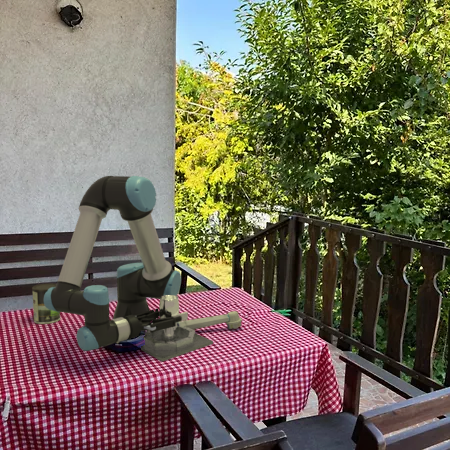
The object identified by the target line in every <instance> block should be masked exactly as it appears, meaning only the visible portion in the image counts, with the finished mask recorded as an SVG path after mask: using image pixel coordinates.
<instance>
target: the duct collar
mask: <svg viewBox="0 0 450 450" xmlns="http://www.w3.org/2000/svg"><path fill="white" fill-rule="evenodd" d="M144 334H145V336H144V337H143V338H144V340H145V345H143V346H141V350H140V351H142V352H144V353H146V354H148V355H149V356H151V357H153V358H155V359H157V360H158V361H160V362H165V361H168V360H171V359H173V358H176V357H179V356H181V355H184V354H188V353H191V352H193V351H196V349H197V350H199V349H202V348H205V347H208V346H211V345H213V344H214V340H212V339H209V338H207V337H205V336H202V335H201V334H198V333H196V329H195V330H193V329H191V328H188V327H186V326H183V327H179V330H178V326H177V334H178V339H177V340H174V341H163V340H162V339H161V335H162V330H158V331H155V332H153V333H151V332H150V330H147V331H145V333H144Z"/></svg>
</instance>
